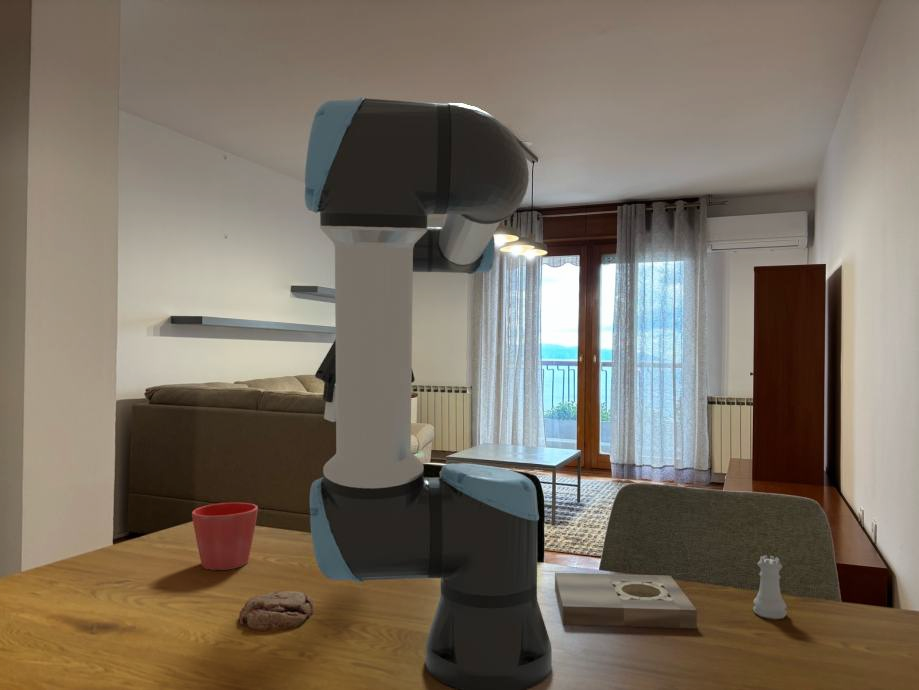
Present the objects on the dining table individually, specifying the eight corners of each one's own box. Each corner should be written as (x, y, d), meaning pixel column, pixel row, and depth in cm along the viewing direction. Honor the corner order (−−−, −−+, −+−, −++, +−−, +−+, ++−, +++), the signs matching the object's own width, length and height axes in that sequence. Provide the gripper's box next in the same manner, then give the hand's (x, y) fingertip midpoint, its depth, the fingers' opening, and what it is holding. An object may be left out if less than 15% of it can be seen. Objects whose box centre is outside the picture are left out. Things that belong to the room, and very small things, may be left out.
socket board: (696, 628, 90) (696, 610, 90) (562, 624, 91) (563, 606, 91) (670, 591, 104) (670, 575, 104) (554, 588, 105) (554, 572, 105)
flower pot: (194, 557, 120) (194, 503, 120) (257, 552, 124) (257, 500, 124) (188, 576, 110) (189, 517, 110) (257, 570, 113) (258, 513, 114)
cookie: (327, 608, 98) (327, 587, 98) (288, 638, 87) (288, 614, 87) (267, 600, 100) (268, 580, 100) (223, 628, 90) (224, 606, 90)
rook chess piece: (780, 608, 97) (780, 554, 97) (792, 621, 93) (792, 563, 93) (748, 607, 98) (748, 553, 98) (759, 619, 93) (759, 562, 93)
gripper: (417, 309, 132) (403, 413, 134) (305, 295, 115) (290, 415, 117) (441, 313, 126) (426, 422, 128) (327, 300, 110) (311, 425, 111)
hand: (361, 419), depth 122 cm, fingers open, 13 cm apart
